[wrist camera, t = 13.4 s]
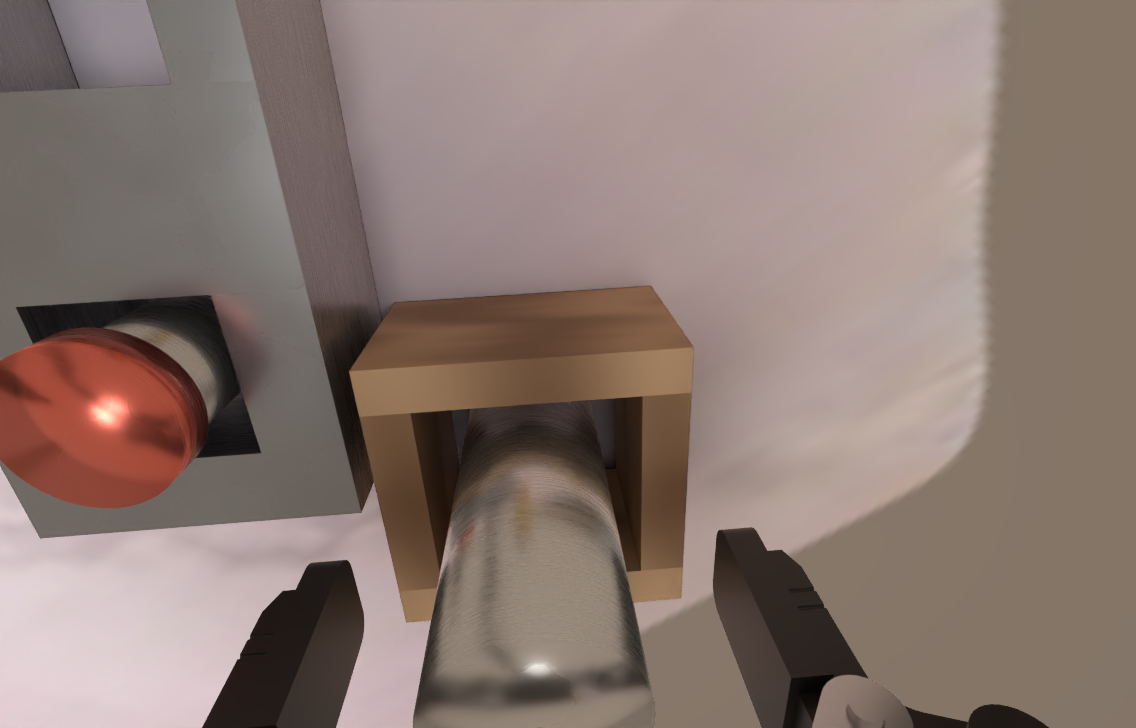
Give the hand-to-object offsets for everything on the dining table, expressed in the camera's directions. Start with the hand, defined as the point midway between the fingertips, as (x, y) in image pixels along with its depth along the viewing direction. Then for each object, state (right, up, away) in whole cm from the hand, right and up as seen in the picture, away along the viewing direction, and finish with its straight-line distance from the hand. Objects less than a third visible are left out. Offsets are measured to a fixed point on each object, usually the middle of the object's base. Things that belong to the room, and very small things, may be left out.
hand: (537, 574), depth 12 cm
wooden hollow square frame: (0, +3, +7) cm, 8 cm away
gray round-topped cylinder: (-1, +3, +7) cm, 8 cm away
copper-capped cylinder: (-9, +6, +4) cm, 11 cm away
